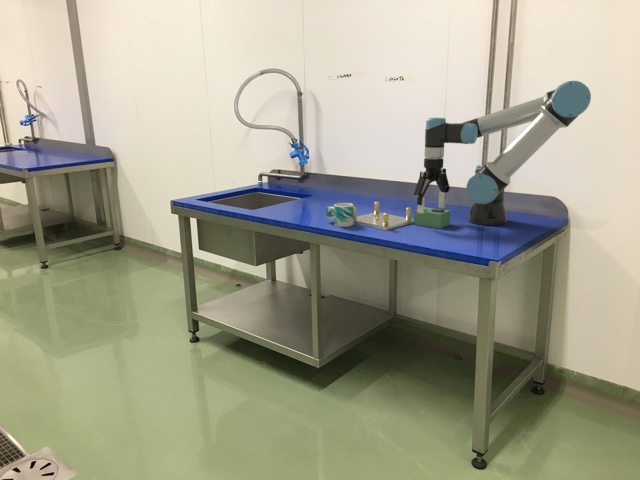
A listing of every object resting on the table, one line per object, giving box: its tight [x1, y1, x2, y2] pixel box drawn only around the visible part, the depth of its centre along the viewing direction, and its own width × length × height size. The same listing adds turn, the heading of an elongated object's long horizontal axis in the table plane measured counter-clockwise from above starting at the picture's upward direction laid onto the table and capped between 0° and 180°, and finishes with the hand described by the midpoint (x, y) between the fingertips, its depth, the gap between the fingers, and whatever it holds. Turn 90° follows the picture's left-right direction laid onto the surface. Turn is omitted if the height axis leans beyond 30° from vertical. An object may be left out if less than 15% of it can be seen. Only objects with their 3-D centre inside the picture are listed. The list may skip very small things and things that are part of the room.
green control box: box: [413, 206, 452, 229], centre depth 217 cm, size 12×8×7 cm, turn 50°
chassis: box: [353, 201, 414, 231], centre depth 223 cm, size 22×18×6 cm
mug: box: [325, 202, 354, 228], centre depth 222 cm, size 8×12×8 cm
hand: (431, 210), depth 217 cm, fingers open, 13 cm apart
